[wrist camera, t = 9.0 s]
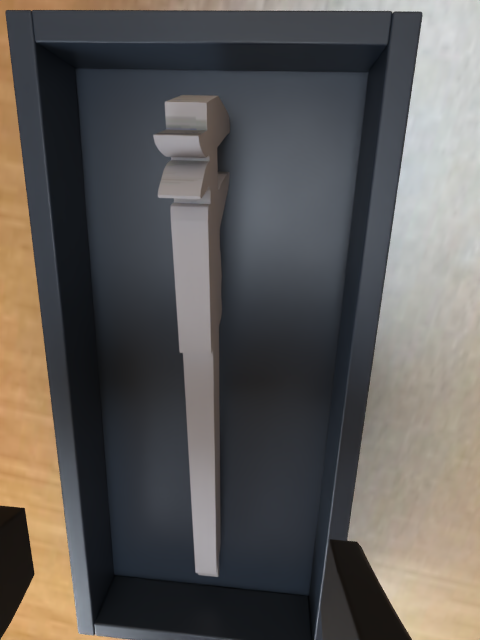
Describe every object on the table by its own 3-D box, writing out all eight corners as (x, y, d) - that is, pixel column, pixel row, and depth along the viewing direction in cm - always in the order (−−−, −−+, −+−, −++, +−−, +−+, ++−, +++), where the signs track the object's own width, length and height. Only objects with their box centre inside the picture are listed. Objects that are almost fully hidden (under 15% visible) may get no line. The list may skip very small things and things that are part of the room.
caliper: (200, 117, 14) (145, 58, 8) (231, 117, 14) (199, 58, 8) (200, 566, 20) (168, 722, 14) (222, 568, 20) (198, 726, 14)
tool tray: (392, 50, 13) (423, 10, 11) (322, 599, 21) (329, 663, 18) (58, 46, 14) (4, 9, 11) (104, 576, 21) (77, 634, 19)
